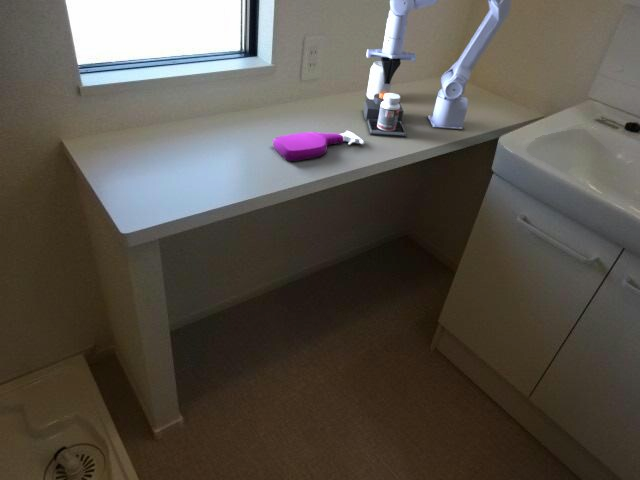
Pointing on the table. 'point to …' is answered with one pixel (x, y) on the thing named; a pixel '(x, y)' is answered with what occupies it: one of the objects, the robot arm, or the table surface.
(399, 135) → the drip tray
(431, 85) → the table surface
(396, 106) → the pill bottle
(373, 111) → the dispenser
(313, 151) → the spray bottle
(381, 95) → the button
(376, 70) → the can
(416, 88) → the table surface
